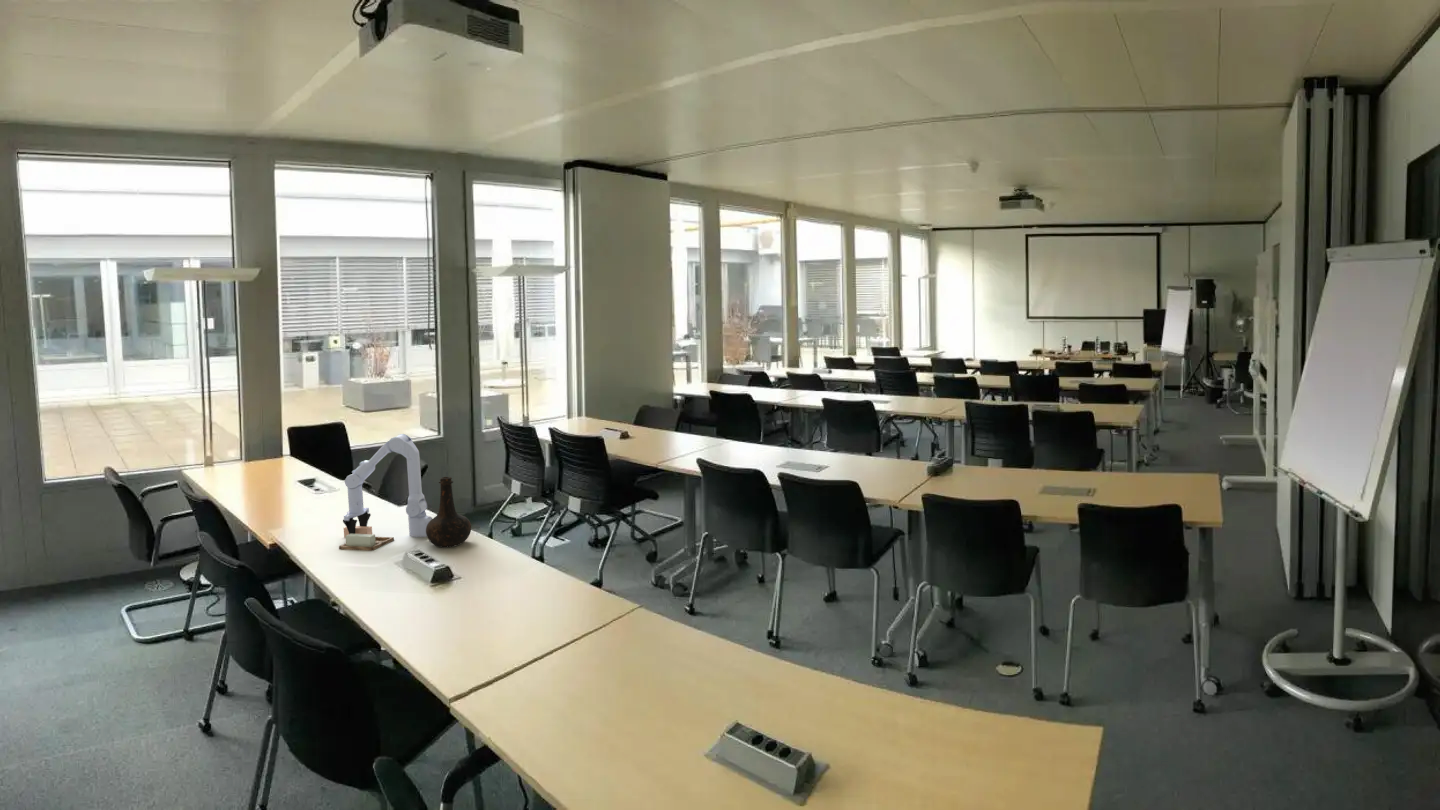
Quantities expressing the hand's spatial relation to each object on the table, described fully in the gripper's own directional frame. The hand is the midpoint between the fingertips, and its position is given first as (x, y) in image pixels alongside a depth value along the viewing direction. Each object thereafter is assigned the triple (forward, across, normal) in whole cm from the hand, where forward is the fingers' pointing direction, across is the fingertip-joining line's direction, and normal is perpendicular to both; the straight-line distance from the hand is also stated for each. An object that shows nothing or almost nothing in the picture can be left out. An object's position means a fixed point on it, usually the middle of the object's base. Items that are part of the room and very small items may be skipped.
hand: (357, 533), depth 362 cm
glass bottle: (+2, +4, +45) cm, 45 cm away
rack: (+2, +11, +12) cm, 16 cm away
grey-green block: (+1, +15, +12) cm, 19 cm away
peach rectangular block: (+2, 0, 0) cm, 2 cm away
